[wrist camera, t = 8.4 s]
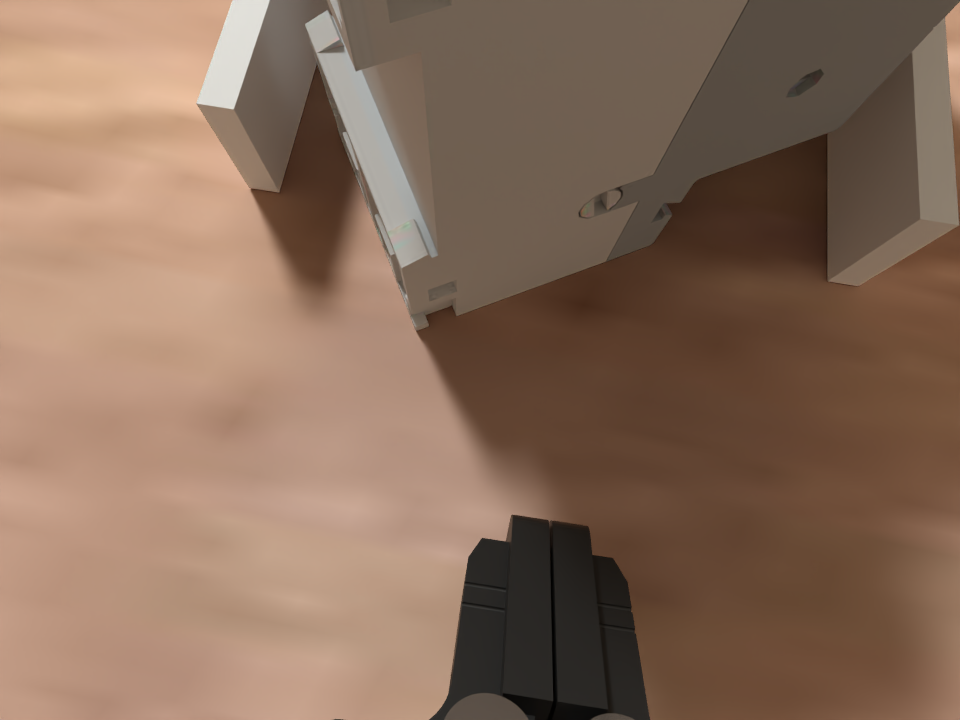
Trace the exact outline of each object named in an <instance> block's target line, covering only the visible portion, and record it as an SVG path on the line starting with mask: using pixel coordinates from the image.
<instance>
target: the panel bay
mask: <svg viewBox="0 0 960 720" xmlns="http://www.w3.org/2000/svg"><path fill="white" fill-rule="evenodd" d="M327 10H328V11H329V13H330V14H331V10H330V8H329V5H328V3H327V1H326V0H233V1H232V4H231V7H230V9H229V12H228V15H227V18H226V21H225V24H224V26H223V29H222V32H221V35H220V38H219V41H218V43H217V46H216V49H215V52H214V55H213V58H212V61H211V63H210V66H209V69H208V72H207V75H206V78H205V80H204V83H203V86H202V89H201V92H200V95H199V98H198V100H197V103H196V104H197V105H198V107H199V108H200V110H201V112H202V113H203V115H204V116H205V118H206V120H207V121H208V123H209V124H210V126H211V128H212V129H213V131H214V132H215V134H216V136H217V137H218V139H219V140H220V142H221V144H222V145H223V147H224V148H225V150H226V151H227V153H228V155H229V156H230V158H231V159H232V161H233V163H234V164H235V166H236V167H237V169H238V171H239V172H240V174H241V175H242V177H243V179H244V180H245V182H246V183H247V185H248V187H249V188H253V189H260V190H266V191H272V192H278V193H279V192H280V189H281V185H282V182H283V178H284V175H285V171H286V168H287V165H288V161H289V158H290V154H291V151H292V147H293V144H294V141H295V137H296V134H297V130H298V127H299V123H300V120H301V116H302V113H303V110H304V106H305V103H306V99H307V96H308V92H309V89H310V86H311V82H312V79H313V75H314V72H315V68H316V65H317V61H316V58H315V55H314V52H313V48H312V45H311V42H310V39H309V36H308V32H307V29H306V26H305V24H306V23H308V22H309V21H311V20H312V19H314V18H316V17H317V16H319V15H320V14H322V13H324V12H325V11H327ZM957 226H959V214H958V200H957V185H956V171H955V156H954V142H953V127H952V112H951V98H950V83H949V69H948V54H947V39H946V25H945V17H944V18H943V20H942V21H941V22H940V23H939V24H938V25H937V26H935V27H934V28H933V30H932V31H931V32H930V33H929V34H928V35H927V36H926V37H925V38H924V40H923V41H922V42H921V43H920V44H919V45H918V46H917V47H916V48H915V49H914V50H913V51H912V52H911V53H910V54H909V55H908V56H907V57H906V58H905V60H904V61H903V62H902V63H901V64H900V65H899V66H898V67H897V68H896V69H895V70H894V71H893V72H892V73H891V74H890V75H889V76H888V77H887V78H886V80H885V81H884V82H883V83H882V84H881V85H880V86H879V87H878V88H877V89H876V90H875V91H874V92H873V93H872V94H871V95H870V96H869V97H868V98H867V100H866V101H865V102H864V103H863V104H862V105H861V106H860V107H859V108H858V109H857V110H856V111H855V112H854V113H853V114H852V115H851V116H850V117H849V118H848V120H847V121H846V122H845V123H844V124H843V125H842V126H841V127H840V128H838V129H836V130H835V131H832V132H829V133H827V281H829V282H835V283H841V284H847V285H853V286H860V285H861V284H863V283H865V282H866V281H868V280H870V279H871V278H873V277H875V276H876V275H878V274H880V273H881V272H883V271H884V270H886V269H888V268H889V267H891V266H893V265H894V264H896V263H898V262H899V261H901V260H903V259H904V258H906V257H908V256H909V255H911V254H913V253H914V252H916V251H918V250H919V249H921V248H923V247H924V246H926V245H927V244H929V243H931V242H932V241H934V240H936V239H937V238H939V237H941V236H942V235H944V234H946V233H947V232H949V231H951V230H952V229H954V228H956V227H957Z"/></svg>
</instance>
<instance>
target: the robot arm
mask: <svg viewBox="0 0 960 720" xmlns="http://www.w3.org/2000/svg"><path fill="white" fill-rule="evenodd" d="M634 631H635V626H634V620H633V614H632V612H631V601H630V595H629V589H628V583H627V581H626V579H625V577H624V576H623V574H622V572H621V571H620V569H619V567H618V566H617V564H616V563H615V561H614V559H613V558H608V557H602V556H595V555H592V548H591V539H590V531H589V528H588V526H583V525H577V524H570V523H564V522H557V521H550V523H549V521H548V520H543V519H537V518H531V517H524V516H518V515H511V519H510V523H509V528H508V534H507V539H506V542H504V541H498V540H492V539H485V538H482V539H481V540H480V542H479V543H478V545H477V546H476V547H475V549H474V550H473V552H472V553H471V554H470V556H469V557H468V563H467V570H466V576H465V582H464V589H463V595H462V601H461V607H460V614H459V621H458V629H457V636H456V643H455V650H454V658H453V665H452V672H451V679H450V686H449V694H448V696H447V699H446V701H445V702H444V704H443V706H442V707H441V708H440V710H439V711H438V712H437V713H436V714H435V715H434V716H433V717H432V718H431V719H430V720H650V717H649V712H648V706H647V700H646V694H645V687H644V681H643V675H642V669H641V663H640V657H639V651H638V644H637V638H636V634H635V632H634ZM335 720H341V719H335Z"/></svg>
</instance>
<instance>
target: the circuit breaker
mask: <svg viewBox="0 0 960 720" xmlns="http://www.w3.org/2000/svg"><path fill="white" fill-rule="evenodd" d="M326 1H327V3H328V5H329V8H330V10H331V13H332V15H333V16H332V15H331V14H330V13H329V11H328V10H327V11H325V12H324V13H322V14H320V15H319V16H317V17H316V18H314V19H312V20H311V21H309V22H308V23H306V24H305V26H306V29H307V32H308V36H309V39H310V42H311V45H312V48H313V52H314V55H315V58H316V61H317V64H318V68H319V71H320V74H321V77H322V81H323V84H324V87H325V90H326V93H327V97H328V100H329V103H330V106H331V108H332V111H333V113H334V116H335V120H336V123H337V126H338V128H337V129H338V132H339V135H340V138H341V140H342V143H343V145H344V148H345V150H346V153H347V156H348V158H349V161H350V163H351V166H352V168H353V171H354V173H355V176H356V179H357V181H358V184H359V186H360V189H361V191H362V194H363V196H364V199H365V202H366V204H367V207H368V209H369V212H370V214H371V217H372V219H373V222H374V225H375V227H376V230H377V232H378V235H379V237H380V240H381V242H382V245H383V248H384V250H385V253H386V255H387V258H388V260H389V263H390V266H391V268H392V271H393V273H394V276H395V278H396V281H397V283H398V286H399V289H400V291H401V294H402V296H403V299H404V301H405V304H406V306H407V309H408V312H409V314H410V317H411V319H412V322H413V324H414V327H415V329H416V331H418V330H420V329H423V328H426V327H428V326H429V324H428V321H427V318H426V316H425V315H427V314H430V313H433V312H435V311H438V310H441V309H444V308H446V307H449V306H452V307H453V309H454V311H455V314H456V316H459V315H461V314H464V313H467V312H470V311H472V310H475V309H478V308H480V307H483V306H486V305H489V304H491V303H494V302H497V301H500V300H502V299H505V298H508V297H511V296H513V295H516V294H519V293H521V292H524V291H527V290H530V289H532V288H535V287H538V286H541V285H543V284H546V283H549V282H552V281H554V280H557V279H560V278H563V277H565V276H568V275H571V274H573V273H576V272H579V271H582V270H584V269H587V268H590V267H593V266H595V265H598V264H601V263H604V262H606V261H609V260H612V259H614V258H617V257H620V256H623V255H625V254H628V253H631V252H633V251H636V250H639V249H642V248H644V247H647V246H650V245H651V244H653V243H654V241H655V240H656V238H657V237H658V235H659V234H660V232H661V231H662V229H663V228H664V226H665V225H666V224H667V222H668V221H669V219H670V218H671V216H672V213H671V211H670V209H669V207H668V205H667V204H666V203H681V201H682V200H683V198H684V197H685V195H686V194H687V193H688V191H689V190H690V188H691V187H692V185H693V184H694V183H695V182H696V181H697V180H698V179H700V178H703V177H706V176H709V175H712V174H714V173H717V172H720V171H723V170H726V169H728V168H731V167H734V166H737V165H740V164H742V163H745V162H748V161H751V160H754V159H756V158H759V157H762V156H765V155H768V154H770V153H773V152H776V151H779V150H782V149H784V148H787V147H790V146H793V145H796V144H799V143H801V142H804V141H807V140H810V139H813V138H815V137H818V136H821V135H824V134H827V133H829V132H832V131H835V130H836V129H838V128H840V127H841V126H842V125H843V124H844V123H845V122H846V121H847V120H848V118H849V117H850V116H851V115H852V114H853V113H854V112H855V111H856V110H857V109H858V108H859V107H860V106H861V105H862V104H863V103H864V102H865V101H866V100H867V98H868V97H869V96H870V95H871V94H872V93H873V92H874V91H875V90H876V89H877V88H878V87H879V86H880V85H881V84H882V83H883V82H884V81H885V80H886V78H887V77H888V76H889V75H890V74H891V73H892V72H893V71H894V70H895V69H896V68H897V67H898V66H899V65H900V64H901V63H902V62H903V61H904V60H905V58H906V57H907V56H908V55H909V54H910V53H911V52H912V51H913V50H914V49H915V48H916V47H917V46H918V45H919V44H920V43H921V42H922V41H923V40H924V38H925V37H926V36H927V35H928V34H929V33H930V32H931V31H932V30H933V28H934V27H935V26H937V25H938V24H939V23H940V22H941V21H942V20H943V18H944V17H945V16H946V15H947V14H948V13H949V12H950V11H951V10H952V9H953V8H954V7H955V6H956V5H957V4H958V3H959V2H960V0H326Z"/></svg>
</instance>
